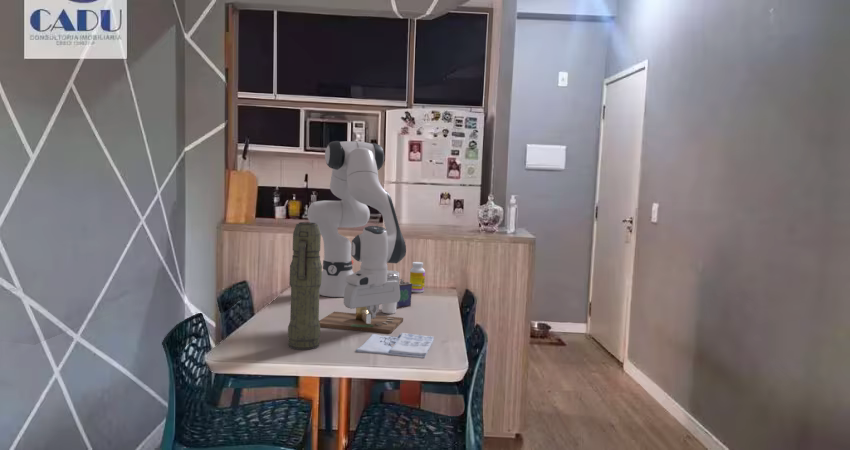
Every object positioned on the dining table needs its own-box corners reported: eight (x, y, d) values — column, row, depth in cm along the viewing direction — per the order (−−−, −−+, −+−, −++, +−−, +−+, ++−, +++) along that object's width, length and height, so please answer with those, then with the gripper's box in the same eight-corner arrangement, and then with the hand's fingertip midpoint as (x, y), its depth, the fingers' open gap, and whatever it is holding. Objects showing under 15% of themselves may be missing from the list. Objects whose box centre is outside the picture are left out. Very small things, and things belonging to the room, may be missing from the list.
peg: (354, 317, 190) (354, 303, 190) (367, 317, 192) (367, 303, 191) (361, 326, 179) (362, 311, 179) (375, 325, 181) (375, 311, 181)
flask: (394, 309, 212) (395, 280, 211) (389, 307, 214) (390, 279, 213) (412, 306, 218) (413, 278, 218) (407, 304, 220) (408, 277, 220)
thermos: (284, 351, 154) (288, 223, 151) (290, 339, 165) (293, 221, 163) (317, 351, 155) (321, 225, 152) (321, 339, 166) (324, 222, 164)
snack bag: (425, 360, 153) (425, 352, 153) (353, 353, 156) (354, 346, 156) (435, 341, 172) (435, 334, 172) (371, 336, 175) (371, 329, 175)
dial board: (334, 314, 198) (334, 310, 198) (403, 321, 193) (403, 316, 193) (315, 326, 181) (315, 322, 181) (390, 334, 176) (390, 329, 176)
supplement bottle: (424, 293, 245) (425, 264, 244) (408, 292, 245) (410, 263, 244) (424, 290, 252) (425, 261, 251) (409, 289, 252) (410, 261, 251)
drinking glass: (395, 315, 202) (397, 273, 201) (377, 313, 203) (378, 272, 202) (400, 311, 208) (401, 271, 207) (382, 309, 210) (384, 269, 209)
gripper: (393, 272, 191) (392, 312, 192) (341, 277, 178) (340, 320, 179) (405, 275, 186) (403, 316, 188) (352, 281, 173) (351, 325, 174)
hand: (372, 318), depth 183 cm, fingers closed
